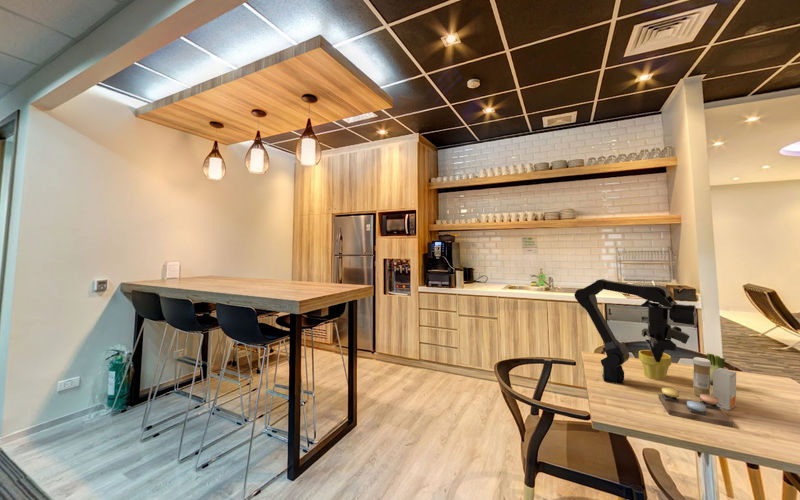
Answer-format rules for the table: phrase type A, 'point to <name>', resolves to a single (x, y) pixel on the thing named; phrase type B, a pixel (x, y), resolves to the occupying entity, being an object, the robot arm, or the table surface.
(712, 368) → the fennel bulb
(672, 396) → the ochre button
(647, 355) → the plant pot
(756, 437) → the table surface
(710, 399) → the terracotta button
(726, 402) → the skincare box
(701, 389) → the sprinkles bottle
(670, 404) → the board
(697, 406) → the slate-blue button
